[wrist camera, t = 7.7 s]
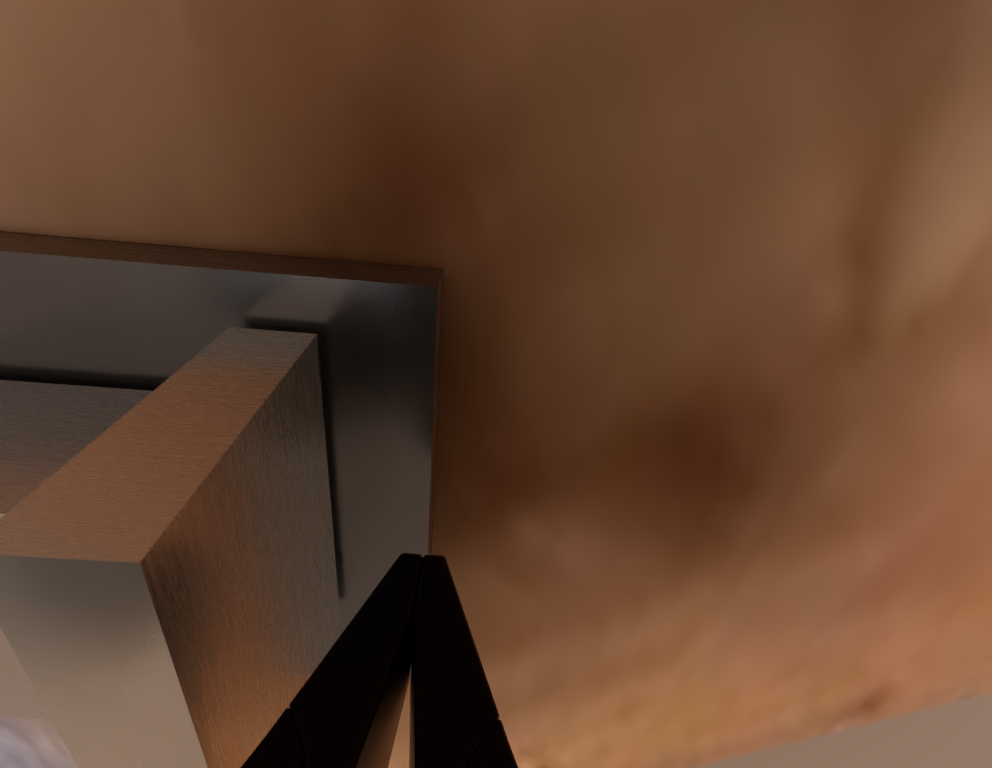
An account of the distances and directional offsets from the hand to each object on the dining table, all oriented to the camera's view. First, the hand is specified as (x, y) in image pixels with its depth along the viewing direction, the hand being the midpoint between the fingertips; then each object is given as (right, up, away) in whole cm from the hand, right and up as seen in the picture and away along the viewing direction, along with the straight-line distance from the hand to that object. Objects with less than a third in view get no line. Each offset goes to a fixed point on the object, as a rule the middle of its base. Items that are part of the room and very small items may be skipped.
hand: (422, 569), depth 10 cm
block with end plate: (-6, 0, +2) cm, 6 cm away
